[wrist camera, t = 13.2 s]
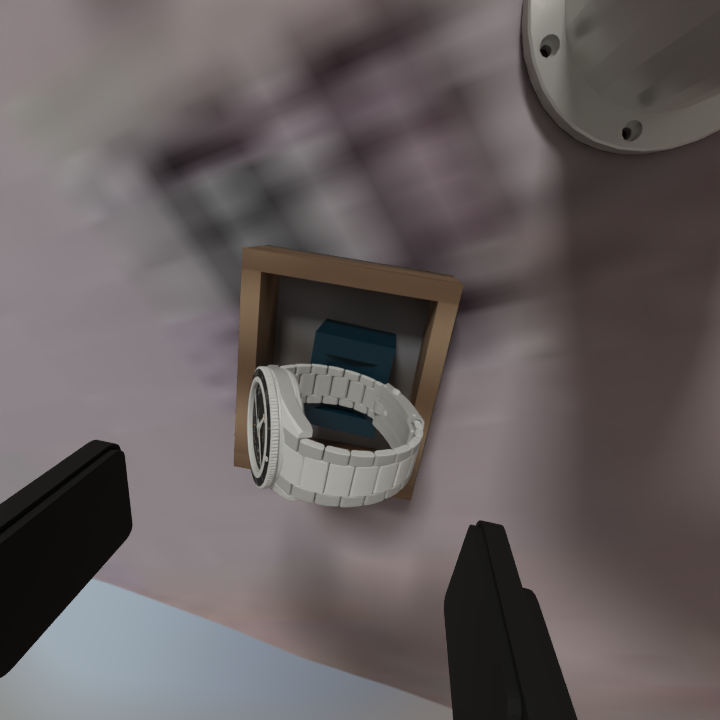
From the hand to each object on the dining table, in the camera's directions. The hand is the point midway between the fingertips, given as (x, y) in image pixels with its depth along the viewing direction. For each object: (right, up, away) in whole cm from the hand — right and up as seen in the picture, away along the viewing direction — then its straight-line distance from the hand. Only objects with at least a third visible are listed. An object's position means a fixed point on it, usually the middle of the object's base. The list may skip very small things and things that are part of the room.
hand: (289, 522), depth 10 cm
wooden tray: (+1, +4, +14) cm, 15 cm away
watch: (+1, +4, +14) cm, 14 cm away
